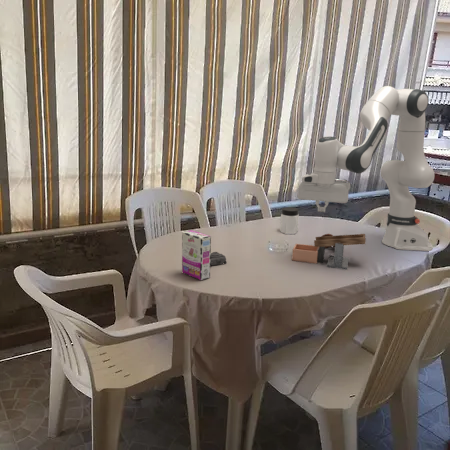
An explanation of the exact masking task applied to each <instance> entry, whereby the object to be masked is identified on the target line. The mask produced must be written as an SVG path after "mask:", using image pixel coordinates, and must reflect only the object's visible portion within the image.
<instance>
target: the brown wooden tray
mask: <svg viewBox="0 0 450 450" xmlns="http://www.w3.org/2000/svg"><path fill="white" fill-rule="evenodd" d="M322 236H323V235H322ZM366 241H367V240H366V233H358V234H356V233H355V234H342V235H341V234H340V235H333V236H323V237H321V236H315V239H314V240H313V244H314V245H313V246H315V247H323V246H332V247H333V246H335V243H343V245H344V246H355V245H366Z"/></svg>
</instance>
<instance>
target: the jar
mask: <svg viewBox="0 0 450 450" xmlns="http://www.w3.org/2000/svg"><path fill="white" fill-rule="evenodd" d="M281 209H282V210H281V215H280V226H279V230H280V231H279V232H280V233H282V234H285V235H296V234H298V231H299V219H300V218H299V217H300V214H299V208H296V207H288V206H287V207H282V208H281Z"/></svg>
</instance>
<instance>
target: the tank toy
mask: <svg viewBox="0 0 450 450" xmlns="http://www.w3.org/2000/svg"><path fill="white" fill-rule="evenodd" d="M223 263H224V264H223ZM227 263H228V261H227V258H226V256H225V255H224V254H222V253H220V252H218V251H213V252H211V255H210V267H211V266H215V265H226V264H227Z"/></svg>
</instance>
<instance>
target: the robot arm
mask: <svg viewBox="0 0 450 450" xmlns="http://www.w3.org/2000/svg"><path fill="white" fill-rule="evenodd" d="M428 106H429V97H428V94H427V92H426V91H425V90H422V89H418V88H416V89H412V88H401V89H400V88H399V89H396V88H395V87H394V86H390V85H384V86H382V87H380V88H379V89H378V90H377V91H376V92H375V93H374V94H372V95H371V97H370V98H369V99H368V100H367V101H366V103H365V104H364V105H363V107H362V109H361V111H360V113H359V119H360V122H361V124H362V125H363V127H365V129H367V130H368V131H369V132H368V134H367V135H366V137H365V138H364V140H363V142H362V144H360V145H358V146H353V145H347V144H343V143H342V142H340V141H339V140H338V139H337V138H338V137H335V136H323V137H320V138H319V139H318V140H317V141H316V145H315V151H314V158H313V159H314V168H313V172H311V173H306V174H304V175H302V177H301V182H300V183H299V186H298V187H297V196H296V197H297V199H298V200H303V201H305V200H306V201H315V205H316V207H317V212H318V213H326V208H327V207H328V205H329V203H336V204H337V203H339V204H347V203H348V202H349V191H350V190H351V182H350V181H348V180H347V179H340V178H336V177H337V169H340V170H344V171H348V172H351V173H355V174H362V173H364V172H366V171H367V170H368V169H369V168H370V165H371V163H372V160H373V157H374V155H375V153H376V152H377V150H378V148H379V146H380V144H381V142H382V141H383V138H384V137H385V135H386V132H387V130H388V124H389V123H388V120H389V118H390V117H391V115H392V116H399V117H400V119H399V124H398V129H397V131H398V132H397V139H396V148H397V150H398V151H399V153H401V154H402V156H403V159H404V160H401V159H400V160H399V159H393V160H387V161H385V162H384V163H383V164H382V165H381V168H380V176H381V178H382V179H383V181H384V182H385V184H386V185H387V189H388V191H389V210H388V213H387V216H386V228H385V233H384V235H383V238H382V240H381V243H382V244H383V245H385V246H388V247H392V248H393V249H396V250H402V251H403V250H404V251H405V250H407V251H419V252H420V251H421V252H422V251H423V252H424V251H425V252H431V251H433V249H434V247H433V244H432V242H430V241H429V235H428V233H427V232H426V231H425V230H424V229H423V228H422V227H421V226H420V225H419V224H420V223H421V221H420V219H419V218H418V217H417V216H416V215H415V210H416V205H417V200H416V198H415V196H414V195H413V194H412V193H411V191H410V189H409V187H410V188H413V189H427V188H428V187H430V186H431V185H432V184H433V182H434V180H435V175H436V174H435V170H434V168H432V166H431V165H430V164H429V163H428V161H427V158H426V156H425V150H424V149H425V148H424V142H425V132H426V111H427V108H428ZM320 202H324V206H320Z"/></svg>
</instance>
